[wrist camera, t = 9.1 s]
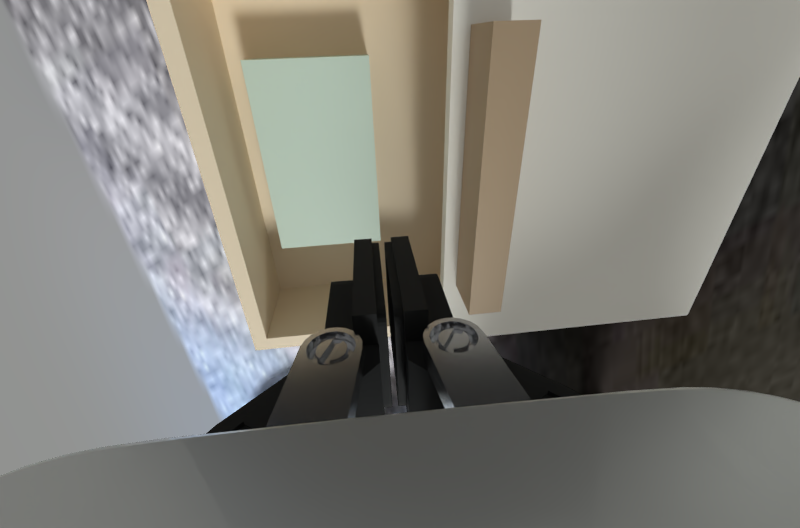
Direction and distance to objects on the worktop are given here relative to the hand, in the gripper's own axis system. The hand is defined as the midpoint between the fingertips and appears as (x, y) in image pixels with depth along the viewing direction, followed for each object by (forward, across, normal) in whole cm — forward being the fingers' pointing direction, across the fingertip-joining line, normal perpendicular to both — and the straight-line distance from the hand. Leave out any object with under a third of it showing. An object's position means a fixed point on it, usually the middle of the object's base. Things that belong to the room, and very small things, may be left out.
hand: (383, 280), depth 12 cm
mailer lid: (+8, -11, -1) cm, 14 cm away
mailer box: (+13, 0, -2) cm, 13 cm away
